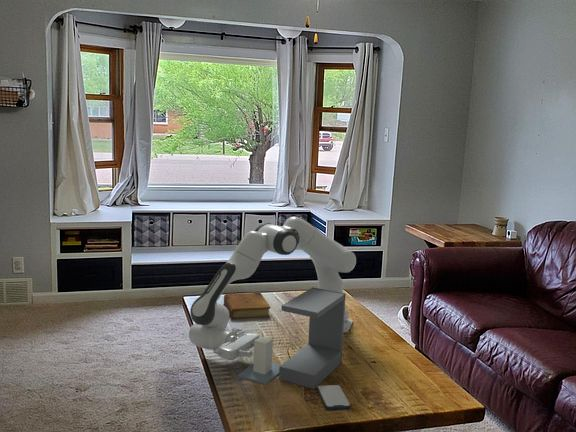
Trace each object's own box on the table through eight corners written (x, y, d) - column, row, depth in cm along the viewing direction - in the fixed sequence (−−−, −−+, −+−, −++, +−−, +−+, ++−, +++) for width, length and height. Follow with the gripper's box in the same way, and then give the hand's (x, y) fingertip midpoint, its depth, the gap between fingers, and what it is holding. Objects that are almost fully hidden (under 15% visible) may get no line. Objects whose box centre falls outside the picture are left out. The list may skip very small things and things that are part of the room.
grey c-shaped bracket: (309, 354, 226) (312, 287, 222) (341, 362, 220) (345, 293, 215) (278, 379, 204) (281, 305, 199) (313, 388, 197) (317, 312, 193)
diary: (223, 305, 284) (223, 294, 283) (259, 303, 289) (260, 292, 288) (231, 320, 262) (231, 308, 261) (270, 318, 267) (270, 306, 266)
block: (260, 366, 212) (261, 336, 210) (271, 369, 210) (272, 339, 208) (253, 371, 208) (254, 340, 206) (265, 374, 206) (266, 343, 203)
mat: (259, 360, 219) (259, 359, 218) (286, 367, 213) (286, 366, 213) (237, 376, 205) (237, 374, 204) (265, 384, 199) (265, 382, 199)
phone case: (315, 389, 198) (325, 411, 183) (315, 385, 198) (325, 407, 182) (340, 388, 200) (352, 410, 184) (340, 384, 199) (352, 406, 184)
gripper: (210, 343, 205) (243, 351, 199) (240, 326, 223) (271, 333, 217) (210, 359, 206) (242, 368, 200) (240, 341, 224) (270, 348, 218)
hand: (257, 350), depth 208 cm, fingers open, 8 cm apart
